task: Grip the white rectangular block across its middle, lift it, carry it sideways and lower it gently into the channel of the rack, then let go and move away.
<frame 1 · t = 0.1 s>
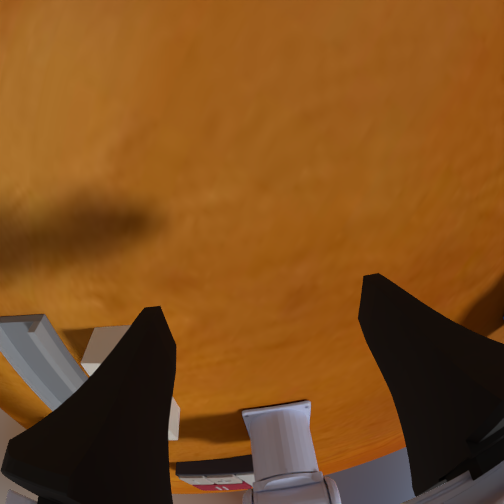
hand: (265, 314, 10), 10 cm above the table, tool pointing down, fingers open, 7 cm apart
white rectangular block: (141, 373, 27), on the table
calculator: (226, 465, 43), on the table
rack: (59, 374, 27), on the table
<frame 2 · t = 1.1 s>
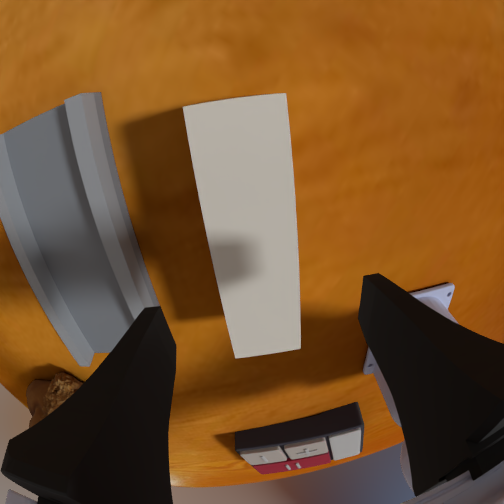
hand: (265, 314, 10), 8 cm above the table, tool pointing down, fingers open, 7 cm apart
stuffed squirrel: (72, 391, 26), on the table
white rectangular block: (248, 216, 18), on the table
calculator: (301, 431, 33), on the table
rack: (82, 246, 17), on the table
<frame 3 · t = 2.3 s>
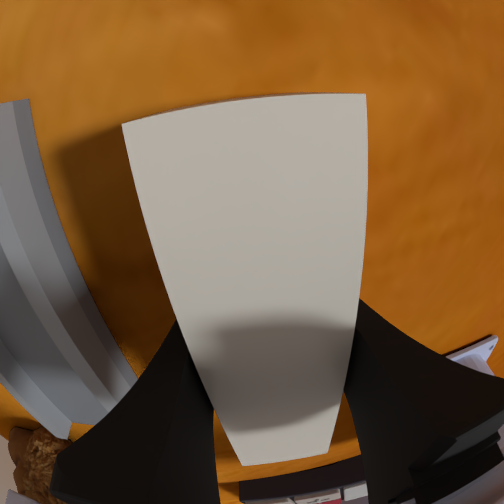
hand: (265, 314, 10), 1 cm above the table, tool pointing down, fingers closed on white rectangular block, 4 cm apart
stuffed squirrel: (56, 441, 20), on the table
white rectangular block: (261, 288, 12), on the table, touching gripper
calculator: (311, 475, 27), on the table
rack: (35, 314, 11), on the table
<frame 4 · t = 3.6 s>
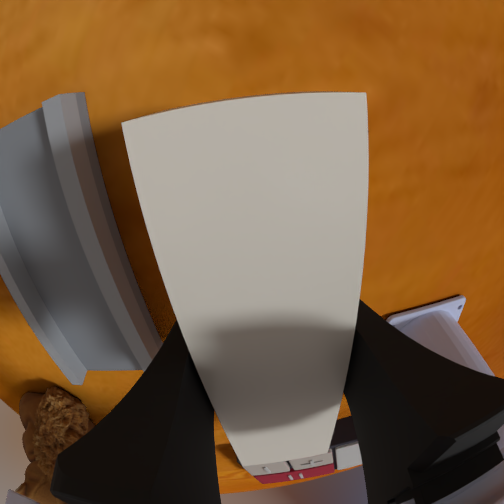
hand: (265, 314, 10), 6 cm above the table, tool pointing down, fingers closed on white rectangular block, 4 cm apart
stuffed squirrel: (65, 405, 24), on the table
white rectangular block: (261, 288, 12), point 5 cm above the table, touching gripper
calculator: (305, 441, 31), on the table
rack: (69, 261, 16), on the table
when the fingers open (4 cm above the table, at t = 6.6 s): white rectangular block drops 1 cm, resting on rack.
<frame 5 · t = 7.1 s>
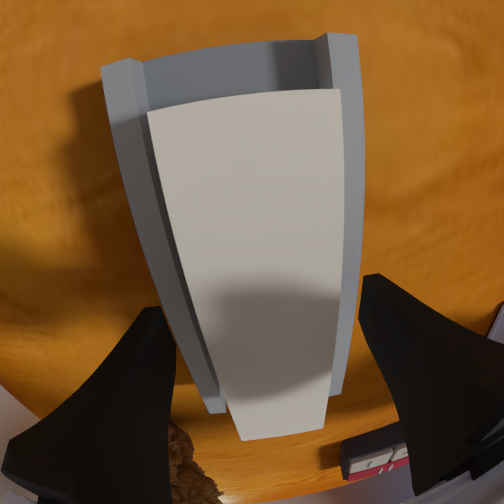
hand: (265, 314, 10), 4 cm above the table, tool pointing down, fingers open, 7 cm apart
stuffed squirrel: (147, 431, 22), on the table
white rectangular block: (259, 267, 13), point 1 cm above the table, touching rack
calculator: (395, 432, 29), on the table
rack: (255, 257, 14), on the table
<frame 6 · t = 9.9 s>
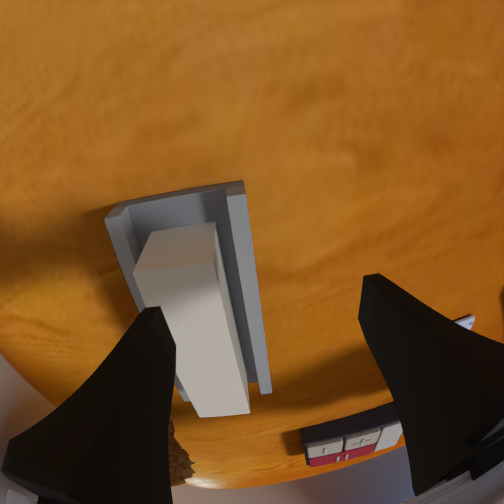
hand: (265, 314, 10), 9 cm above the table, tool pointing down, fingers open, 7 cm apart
stuffed squirrel: (142, 417, 31), on the table
white rectangular block: (205, 314, 21), point 1 cm above the table, touching rack
calculator: (350, 426, 37), on the table
rack: (205, 306, 22), on the table
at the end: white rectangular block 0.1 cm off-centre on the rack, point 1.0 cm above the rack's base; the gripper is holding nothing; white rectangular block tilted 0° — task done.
